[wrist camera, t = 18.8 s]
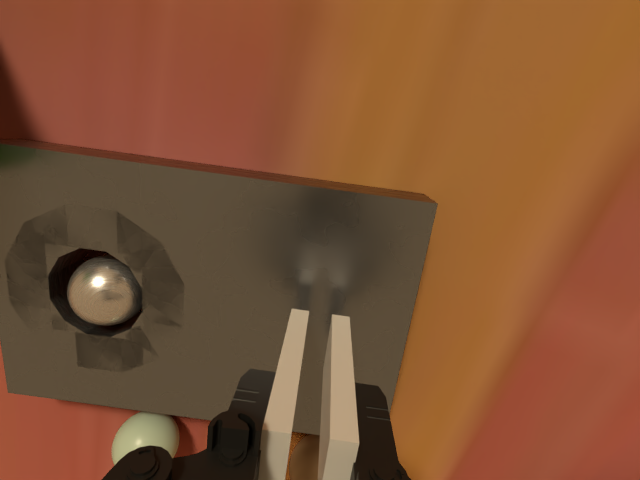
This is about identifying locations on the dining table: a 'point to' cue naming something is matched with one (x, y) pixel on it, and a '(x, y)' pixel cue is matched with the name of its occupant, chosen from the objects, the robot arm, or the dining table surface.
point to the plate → (198, 277)
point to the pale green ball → (146, 434)
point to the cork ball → (305, 459)
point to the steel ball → (104, 291)
